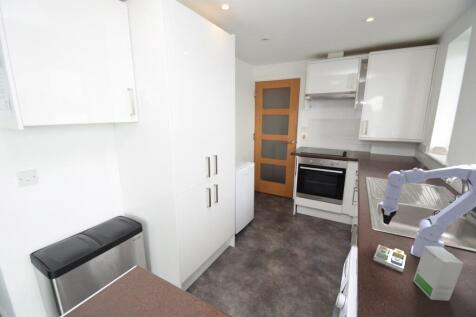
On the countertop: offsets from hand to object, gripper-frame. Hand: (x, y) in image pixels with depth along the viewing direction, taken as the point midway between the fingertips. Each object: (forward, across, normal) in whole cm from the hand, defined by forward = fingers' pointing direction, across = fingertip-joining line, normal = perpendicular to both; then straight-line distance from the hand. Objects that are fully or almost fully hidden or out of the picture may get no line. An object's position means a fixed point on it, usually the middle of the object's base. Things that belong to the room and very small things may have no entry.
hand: (386, 223), depth 100 cm
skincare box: (+10, +22, +18) cm, 30 cm away
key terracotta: (+9, +11, +2) cm, 14 cm away
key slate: (+9, +16, +7) cm, 19 cm away
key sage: (+8, +15, +2) cm, 18 cm away
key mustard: (+8, +10, +7) cm, 15 cm away
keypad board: (+10, +13, +4) cm, 17 cm away
